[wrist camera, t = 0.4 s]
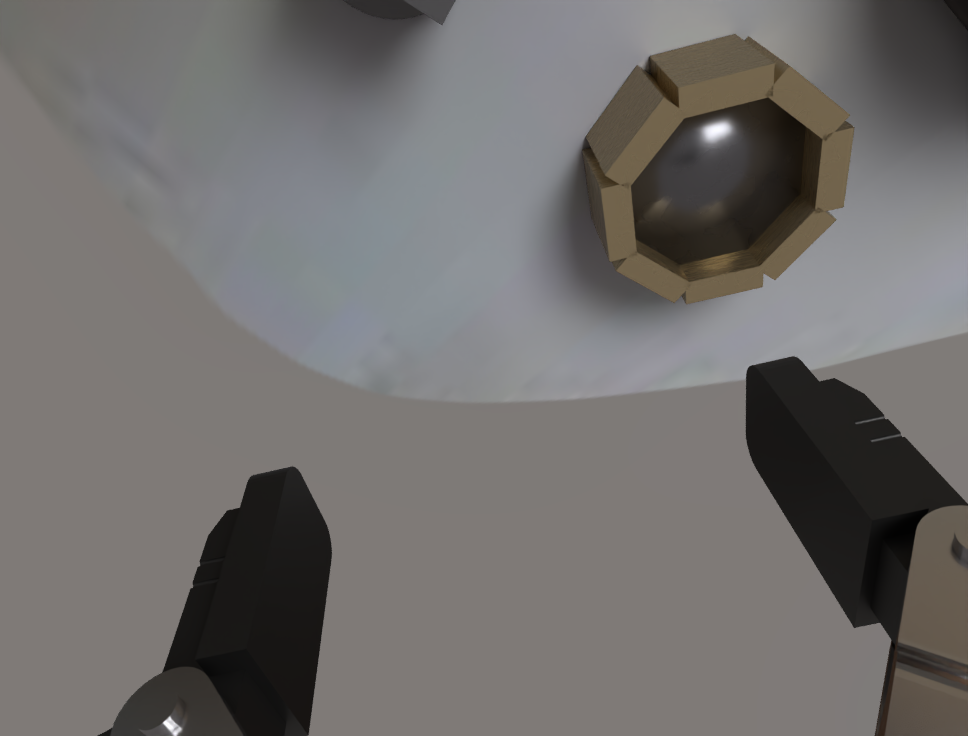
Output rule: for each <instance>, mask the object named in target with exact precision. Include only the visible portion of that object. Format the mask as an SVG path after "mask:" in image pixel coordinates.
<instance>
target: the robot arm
mask: <svg viewBox="0 0 968 736" xmlns="http://www.w3.org/2000/svg"><path fill="white" fill-rule="evenodd" d="M746 440H747V445H748V449H749V453H750V456H751V458H752V461H753V463H754V466H755V467H756V469H757V471H758V473H759V474H760V476H761V477H762V479H763V480H764V482H765V484H766V486H767V487H768V489H769V490H770V492H771V494H772V495H773V497H774V499H775V500H776V502H777V503H778V505H779V507H780V508H781V510H782V512H783V513H784V515H785V516H786V518H787V520H788V521H789V523H790V524H791V526H792V528H793V529H794V531H795V533H796V534H797V536H798V537H799V539H800V541H801V542H802V544H803V546H804V547H805V549H806V550H807V552H808V553H809V555H810V557H811V558H812V560H813V562H814V563H815V565H816V567H817V568H818V570H819V571H820V573H821V575H822V576H823V578H824V580H825V581H826V583H827V584H828V586H829V588H830V589H831V591H832V593H833V594H834V595H835V598H836V599H837V601H838V602H839V604H840V606H841V607H842V608H843V611H844V612H845V614H846V615H847V617H848V619H849V620H850V622H851V623H852V625H853V627H854V628H856V627H860V626H866V625H871V624H876V623H881V625H882V626H883V628H884V629H885V631H886V632H887V633H888V635H889V637H890V638H891V645H890V649H889V655H888V661H887V667H886V672H885V678H884V684H883V690H882V696H881V701H880V708H879V713H878V719H877V725H876V731H875V736H968V504H967V503H966V502H965V501H964V499H963V498H962V497H961V496H960V495H959V494H958V493H957V492H956V491H955V490H954V489H953V488H952V487H951V486H950V485H949V484H948V482H947V481H946V480H945V479H944V478H943V477H942V476H941V475H940V474H939V473H938V472H937V471H936V470H935V469H934V468H933V466H932V465H931V464H929V462H928V461H927V460H926V459H925V458H924V457H923V456H922V455H921V454H920V453H919V452H918V451H917V450H916V448H915V447H914V446H913V445H912V444H911V443H910V442H909V441H908V440H907V439H906V438H905V437H902V436H901V433H900V431H899V430H898V429H897V428H896V427H895V426H894V425H893V424H892V423H891V422H890V421H889V420H888V419H885V418H884V414H883V413H882V412H881V411H880V410H879V409H878V408H877V407H876V406H875V405H874V404H873V403H872V402H871V400H870V399H869V398H868V397H867V396H866V395H865V394H864V393H862V392H860V391H858V390H856V389H854V388H852V387H850V386H848V385H846V384H845V383H843V382H841V381H839V380H837V379H835V378H833V379H829V380H825V381H820V382H819V381H818V380H817V378H816V377H815V376H814V375H813V374H812V373H811V372H810V370H809V369H808V368H807V367H806V366H805V365H804V363H803V362H802V361H801V360H800V359H799V358H797V357H794V356H793V357H788V358H783V359H779V360H775V361H770V362H766V363H761V364H757V365H752V366H750V367H749V368H748V370H747V374H746ZM331 558H332V548H331V540H330V534H329V531H328V527H327V525H326V523H325V520H324V519H323V516H322V515H321V513H320V511H319V509H318V507H317V505H316V503H315V501H314V499H313V497H312V495H311V493H310V491H309V489H308V487H307V485H306V483H305V481H304V479H303V477H302V475H301V473H300V472H299V471H298V469H296V468H295V467H288V468H283V469H279V470H274V471H270V472H266V473H261V474H257V475H253V476H251V477H250V479H249V480H248V482H247V485H246V489H245V492H244V496H243V499H242V502H241V506H240V508H237V509H233V510H228V511H226V513H225V514H224V516H223V517H222V518H221V519H220V521H219V522H218V523H217V525H216V526H215V527H214V529H213V530H212V531H211V533H210V534H209V535H208V538H207V541H206V544H205V547H204V550H203V553H202V556H201V559H200V567H198V568H197V571H196V574H195V577H194V580H193V588H191V589H190V592H189V595H188V598H187V601H186V604H185V607H184V610H183V613H182V616H181V619H180V622H179V625H178V628H177V631H176V634H175V637H174V640H173V643H172V646H171V649H170V652H169V655H168V658H167V661H166V664H165V667H164V670H163V672H162V673H161V674H159V675H157V676H155V677H153V678H152V679H151V680H149V681H148V682H146V683H145V684H144V685H143V686H142V687H140V688H139V689H138V690H137V691H136V692H135V693H134V694H133V695H132V696H131V697H130V698H129V700H128V701H127V702H126V703H125V705H124V706H123V708H122V709H121V711H120V712H119V714H118V716H117V718H116V720H115V722H114V725H113V728H111V729H109V730H108V731H106V732H104V733H102V734H100V735H98V736H308V735H309V727H310V719H311V712H312V704H313V697H314V689H315V681H316V673H317V666H318V658H319V651H320V643H321V635H322V627H323V620H324V612H325V605H326V597H327V588H328V582H329V574H330V566H331Z"/></svg>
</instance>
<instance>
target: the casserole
mask: <svg viewBox="0 0 968 736" xmlns="http://www.w3.org/2000/svg"><path fill="white" fill-rule="evenodd" d="M944 1H945V3H946V4H947V5H948V6H949V8H950V9H951V10H952V11H953V13H954V14H955V15H956V16H957V18H958V19H959V20H960V21H961V23H962V24H963V25H964V26H965V28H966V29H967V30H968V0H944Z"/></svg>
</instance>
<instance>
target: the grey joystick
mask: <svg viewBox="0 0 968 736" xmlns="http://www.w3.org/2000/svg"><path fill="white" fill-rule="evenodd" d="M344 1H345V2H346V3H348V4H349V5H351V6H352V7H354V8H356V9H358V10H360V11H361V12H364V13H367V14H369V15H372V16H376V17H380V18H386V19H405V18H411V17H415V16H418V15H421V14H425V15H427V16H428V17H430V18H431V19H433V20H435V21H436V22H438V23H439V24H441V25H443V23H444V21H445V19H446V17H447V15H448V13H449V11H450V10H451V8H452V6H453V4H454V2H455V0H344Z"/></svg>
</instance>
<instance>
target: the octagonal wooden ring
mask: <svg viewBox="0 0 968 736" xmlns="http://www.w3.org/2000/svg"><path fill="white" fill-rule="evenodd" d="M650 67H651V75H650V74H649V73H647V72H646V71H645V70H643V69H642V68H640V67H639V66H638V65H637V66H636V67H635V69H634V70H633V71H632V73H631V74H630V76H629V77H628V78H627V80H626V81H625V83H624V84H623V85H622V87H621V88H620V90H619V91H618V92H617V94H616V95H615V97H614V98H613V99H612V101H611V102H610V104H609V105H608V106H607V108H606V109H605V111H604V112H603V113H602V115H601V116H600V118H599V119H598V120H597V122H596V123H595V124H594V126H593V127H592V129H591V130H590V131H589V133H588V134H587V136H586V138H587V140H588V142H589V144H590V146H591V148H587V149H583V150H582V151H583V159H584V166H585V174H586V181H587V188H588V196H589V203H590V210H591V218H592V220H593V223H594V225H595V228H596V230H597V233H598V235H599V237H600V240H601V242H602V245H603V247H604V249H605V252H606V254H607V257H608V259H609V261H610V262H611V261H612V263H613V265H614V267H615V270H616V271H617V272H619V273H621V274H622V275H624V276H626V277H628V278H630V279H631V280H633V281H635V282H637V283H639V284H641V285H642V286H644V287H646V288H648V289H650V290H651V291H653V292H655V293H657V294H659V295H661V296H662V297H664V298H666V299H668V300H670V301H671V302H673V303H675V302H676V301H677V300H678V299H679V297H680V296H681V295H682V297H683V299H684V301H685V303H686V304H690V303H694V302H698V301H703V300H707V299H712V298H716V297H721V296H725V295H729V294H734V293H738V292H743V291H747V290H752V289H756V288H760V287H763V273H764V274H766V275H767V276H769V277H771V278H772V279H774V280H776V279H777V278H778V277H779V276H780V275H781V274H782V273H783V272H784V271H785V270H786V269H787V268H788V267H789V266H790V265H791V264H792V263H793V262H794V261H795V260H796V259H797V258H798V257H799V256H800V255H801V254H802V253H803V252H804V251H805V250H806V249H807V248H808V247H809V246H810V245H811V244H812V243H813V242H814V241H815V240H816V239H817V238H819V237H820V236H821V235H822V234H823V233H824V232H825V231H826V230H827V229H828V228H829V227H830V226H831V225H832V224H833V223H834V222H835V221H836V219H835V218H834V217H833V216H832V215H831V214H830V213H829V212H828V211H829V210H834V209H838V208H842V207H844V200H845V193H846V185H847V178H848V171H849V163H850V156H851V149H852V141H853V134H854V127H853V126H852V125H851V124H849V123H848V122H847V121H845V120H846V119H847V118H848V117H849V116H850V115H849V114H848V113H847V112H846V111H845V110H843V109H842V108H841V107H840V106H838V105H837V104H836V103H835V102H833V101H832V100H831V99H830V98H829V97H827V96H826V95H825V94H824V93H822V92H821V91H820V90H819V89H818V88H816V87H815V86H814V85H813V84H811V83H810V82H809V81H808V80H806V79H805V78H804V77H803V76H802V75H800V74H799V73H798V72H797V71H795V70H794V69H793V68H792V67H790V66H789V65H788V64H786V63H785V62H784V61H782V60H781V59H779V58H778V57H777V56H775V55H774V54H772V53H771V52H770V51H768V50H767V49H765V48H764V47H763V46H761V45H760V44H758V43H757V42H756V41H754V40H753V39H752V38H750V37H749V36H748V38H747V39H746V40H745V41H744V40H743V39H741V38H740V37H739V36H737V35H736V34H733V35H729V36H725V37H722V38H718V39H714V40H710V41H706V42H702V43H698V44H695V45H691V46H687V47H683V48H679V49H675V50H671V51H668V52H664V53H660V54H656V55H652V56H650Z"/></svg>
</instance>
